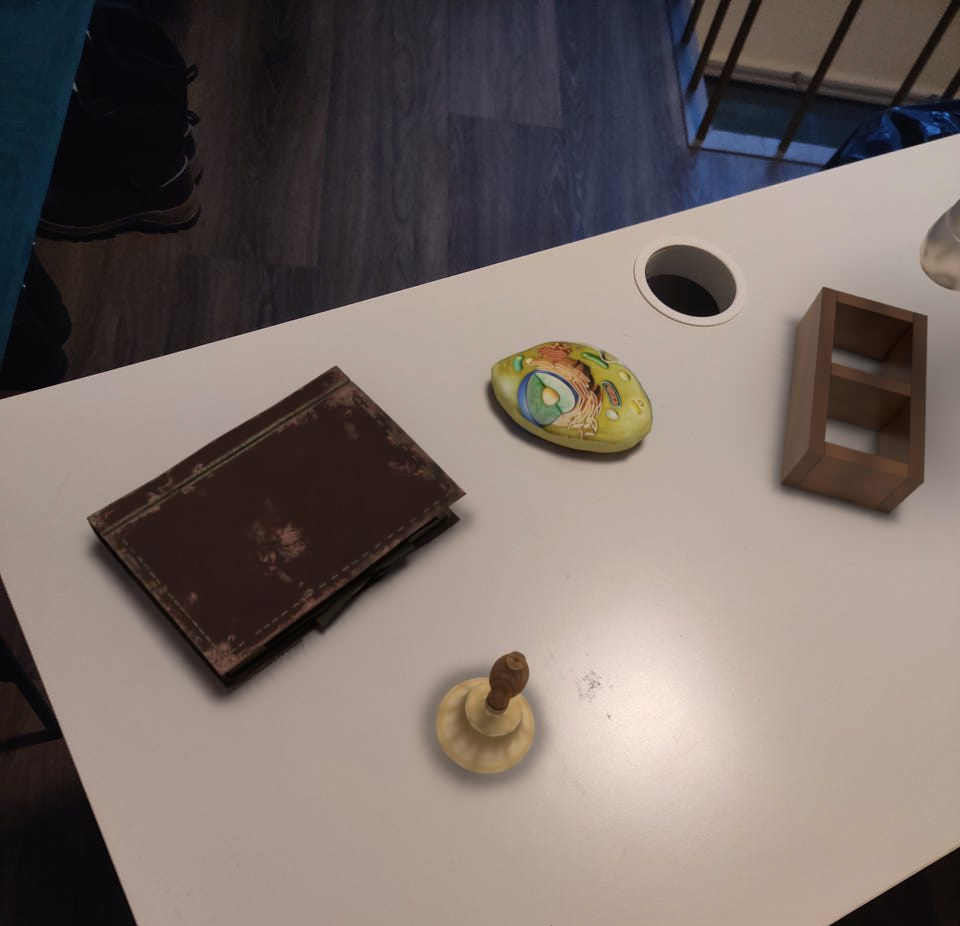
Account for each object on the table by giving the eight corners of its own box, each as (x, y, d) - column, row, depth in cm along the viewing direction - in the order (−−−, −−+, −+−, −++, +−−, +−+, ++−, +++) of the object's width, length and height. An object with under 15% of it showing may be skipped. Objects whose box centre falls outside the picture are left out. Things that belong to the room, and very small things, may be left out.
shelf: (893, 356, 90) (927, 315, 84) (886, 516, 82) (924, 482, 76) (795, 329, 90) (823, 286, 84) (778, 486, 81) (808, 450, 76)
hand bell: (544, 767, 68) (594, 707, 53) (443, 784, 66) (466, 727, 52) (522, 671, 71) (564, 589, 56) (425, 686, 69) (442, 605, 55)
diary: (98, 540, 70) (79, 509, 66) (333, 392, 79) (331, 356, 74) (235, 701, 67) (226, 680, 62) (466, 528, 75) (473, 498, 71)
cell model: (639, 473, 77) (503, 386, 72) (595, 490, 84) (469, 412, 79) (679, 373, 79) (550, 282, 74) (633, 398, 86) (512, 316, 81)
